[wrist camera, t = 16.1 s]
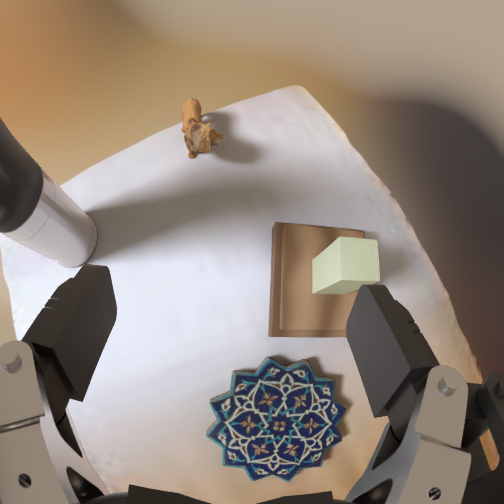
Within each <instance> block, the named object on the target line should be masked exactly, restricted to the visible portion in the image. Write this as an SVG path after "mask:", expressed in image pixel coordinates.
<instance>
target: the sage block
mask: <svg viewBox="0 0 504 504" xmlns="http://www.w3.org/2000/svg"><path fill="white" fill-rule="evenodd" d="M377 282H380V270H379V254H378V242H377V240H373V239H362V238H351V237H339V238H337V239H336V240H335V241H334V242H333V243H332V244H331V245H329V246H328V247H327V248H326V249H325V250H324V251H322V252H321V253H320V254H319V255H318V256H317V257H315V258H314V259H313V260H312V294H343V295H344V294H347V293H350V292H352V291H355V290H358V289H359V288H360V287H361V285H363V284H369V285H372V284H374V283H377Z"/></svg>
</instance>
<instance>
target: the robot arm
mask: <svg viewBox="0 0 504 504" xmlns="http://www.w3.org/2000/svg"><path fill="white" fill-rule="evenodd" d="M0 233H2V234H4V235H6V236H7V237H9V238H11V239H13V240H15V241H17V242H18V243H20V244H22V245H24V246H26V247H28V248H29V249H31V250H33V251H35V252H37V253H39V254H41V255H43V256H45V257H47V258H49V259H50V260H52V261H54V262H56V263H58V264H60V265H62V266H65V267H70V268H72V267H77V266H79V265H81V264H83V263H84V262H86V261H87V260H88V259H89V257H90V256H91V255H92V253H93V251H94V249H95V247H96V243H97V229H96V225H95V223H94V222H93V220H92V219H91V218H90V217H89V216H88V215H87V214H86V213H85V212H84V211H83V210H82V209H81V208H80V207H79V206H78V205H77V204H76V203H75V202H74V201H73V200H72V199H71V198H70V197H69V196H68V195H67V194H66V193H65V192H64V191H63V190H62V189H61V188H60V187H59V186H58V185H57V184H56V183H55V182H54V181H53V180H52V179H51V178H50V177H49V176H48V175H47V173H46V172H45V171H44V170H43V169H42V168H41V167H40V166H39V165H38V164H37V163H36V162H35V161H34V159H33V158H32V157H31V156H30V155H29V154H28V153H27V152H26V151H25V149H24V148H23V147H22V146H21V145H20V144H19V142H18V141H17V140H16V139H15V138H14V136H13V135H12V134H11V132H10V131H9V130H8V128H7V127H6V125H5V124H4V122H3V121H2V119H1V118H0ZM116 316H117V305H116V300H115V295H114V290H113V285H112V280H111V275H110V271H109V268H108V267H107V266H101V265H92V264H85V265H83V266H82V268H81V269H80V270H79V272H78V273H77V274H76V276H75V277H74V278H70V279H68V280H67V281H65V282H64V283H63V284H61V285H60V286H59V287H58V288H57V289H56V291H55V292H54V293H53V295H52V296H51V299H49V300H48V302H47V303H46V304H45V308H43V309H42V310H41V312H40V313H39V314H38V316H37V317H36V319H35V320H34V322H33V323H32V325H31V326H30V328H29V329H28V331H27V332H26V334H25V336H24V337H23V339H22V340H21V341H10V342H8V343H5V344H4V345H2V346H1V347H0V498H1V501H2V504H211V503H207V502H204V501H201V500H197V499H194V498H191V497H188V496H185V495H182V494H179V493H174V492H167V491H161V490H155V489H150V488H145V487H140V486H135V485H130V484H129V489H128V492H121V493H112V494H110V493H109V492H108V490H107V488H106V486H105V484H104V483H103V481H102V479H101V478H100V476H99V475H98V473H97V472H96V471H95V469H94V468H93V466H92V465H91V463H90V461H89V460H88V457H87V455H86V453H85V451H84V448H83V446H82V444H81V441H80V439H79V436H78V434H77V431H76V429H75V426H74V423H73V421H72V418H71V415H70V412H69V410H68V408H67V404H68V402H69V399H74V400H77V401H81V402H83V400H84V397H85V394H86V392H87V389H88V386H89V384H90V381H91V378H92V376H93V373H94V371H95V368H96V366H97V363H98V361H99V358H100V356H101V354H102V351H103V349H104V346H105V344H106V342H107V339H108V337H109V335H110V333H111V330H112V328H113V326H114V324H115V321H116ZM346 336H347V339H348V342H349V345H350V348H351V350H352V353H353V356H354V359H355V362H356V365H357V367H358V370H359V373H360V376H361V379H362V382H363V385H364V388H365V391H366V394H367V397H368V400H369V403H370V406H371V409H372V412H373V415H374V418H376V417H382V416H388V418H389V422H388V423H387V425H386V427H385V429H384V431H383V433H382V436H381V438H380V440H379V443H378V445H377V447H376V449H375V452H374V454H373V456H372V458H371V460H370V462H369V464H368V466H367V468H366V470H365V472H364V474H363V475H362V477H361V478H360V479H359V480H358V481H357V483H356V484H355V485H354V486H353V488H352V489H351V490H350V492H349V493H348V495H347V496H346V498H345V500H344V501H343V500H337V499H333V496H332V491H328V492H321V493H313V494H304V495H294V496H283V497H280V498H276V499H273V500H269V501H265V502H261V503H257V504H504V375H503V374H501V373H492V374H490V375H489V377H488V378H487V379H486V380H485V381H484V383H483V384H474V383H466V381H465V379H464V377H463V376H462V375H461V374H460V373H459V372H458V371H457V370H455V369H454V368H452V367H449V366H445V365H440V364H439V362H438V360H437V359H436V357H435V355H434V353H433V352H432V350H431V348H430V346H429V345H428V343H427V341H426V339H425V338H424V336H423V334H422V333H420V329H419V328H418V326H417V324H416V323H414V319H413V318H412V316H411V315H410V313H409V311H408V310H407V309H406V308H405V307H404V306H403V305H401V304H400V303H399V302H398V301H397V300H394V298H393V297H392V295H391V294H390V292H389V291H388V289H387V287H386V286H384V285H369V284H363V285H361V287H360V288H359V290H358V293H357V296H356V298H355V301H354V304H353V307H352V309H351V312H350V314H349V317H348V320H347V324H346ZM488 429H490V431H491V434H492V436H493V439H494V442H495V444H496V447H497V450H498V453H499V456H500V461H499V464H498V466H497V468H496V469H495V470H494V471H492V470H491V469H490V468H489V465H488V462H487V459H486V456H485V453H484V450H483V447H482V444H481V441H480V439H479V437H480V436H482V435H483V434H484V433H485V432H486V431H487V430H488Z"/></svg>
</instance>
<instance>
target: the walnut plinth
mask: <svg viewBox="0 0 504 504" xmlns="http://www.w3.org/2000/svg"><path fill="white" fill-rule="evenodd" d="M339 237H351V238H362V239H365V232H364V231H362V230H352V229H343V228H333V227H323V226H313V225H303V224H292V223H280V222H275V224H274V227H273V229H272V256H271V285H270V311H269V334H268V336H270V337H347V336H346V324H347V320H348V317H349V314H350V312H351V309H352V307H353V304H354V301H355V298H356V296H357V293H358V290H359V289H358V290H355V291H352V292H350V293H347V294H344V295H343V294H312V260H313V259H314V258H315V257H317V256H318V255H319V254H320V253H321V252H322V251H324V250H325V249H326V248H327V247H328V246H329V245H331V244H332V243H333V242H334V241H335V240H336V239H337V238H339Z"/></svg>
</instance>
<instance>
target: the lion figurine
mask: <svg viewBox="0 0 504 504" xmlns="http://www.w3.org/2000/svg"><path fill="white" fill-rule="evenodd" d="M200 113H201V106H200V103H199V101H198V100H197V99H193V98H190V99H189V100H187V101H185V103H184V105H183V109H182V116H183V120H184V123H183V127H182V129H181V130H182V132H185V135H184V139H185V142H186V144H187V148H188V150H189V154H188V157H189V158H194V157H195V152H204V153H206V152H209V151H210V150H211V146H212V145H218V144H219V143H220V142H221V140H222V139H223V135H220V134H217V133H216V131H215V130H213V129H211V126H210V123H208V124H203V122H202V119H201V115H200Z"/></svg>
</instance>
